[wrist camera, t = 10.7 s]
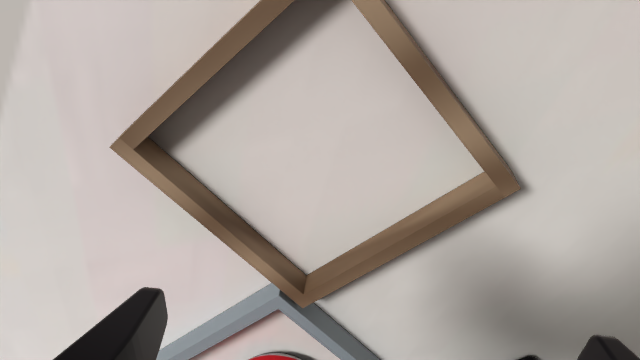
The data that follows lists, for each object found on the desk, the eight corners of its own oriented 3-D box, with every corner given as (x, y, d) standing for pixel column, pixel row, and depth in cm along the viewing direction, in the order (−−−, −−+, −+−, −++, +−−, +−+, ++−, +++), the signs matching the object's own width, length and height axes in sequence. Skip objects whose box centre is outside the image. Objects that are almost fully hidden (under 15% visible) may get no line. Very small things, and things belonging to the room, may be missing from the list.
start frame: (511, 171, 22) (520, 188, 21) (305, 289, 28) (302, 308, 27) (332, -70, 17) (330, -66, 16) (123, 132, 23) (109, 147, 21)
